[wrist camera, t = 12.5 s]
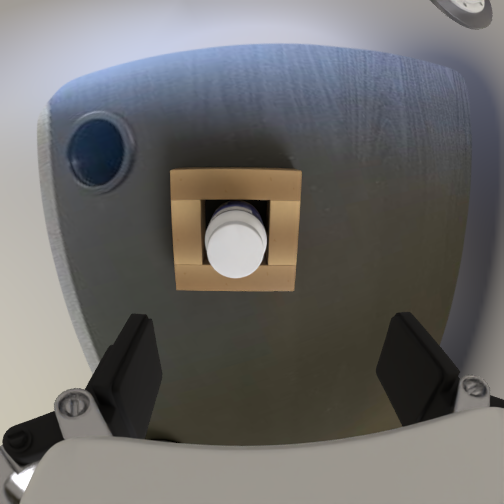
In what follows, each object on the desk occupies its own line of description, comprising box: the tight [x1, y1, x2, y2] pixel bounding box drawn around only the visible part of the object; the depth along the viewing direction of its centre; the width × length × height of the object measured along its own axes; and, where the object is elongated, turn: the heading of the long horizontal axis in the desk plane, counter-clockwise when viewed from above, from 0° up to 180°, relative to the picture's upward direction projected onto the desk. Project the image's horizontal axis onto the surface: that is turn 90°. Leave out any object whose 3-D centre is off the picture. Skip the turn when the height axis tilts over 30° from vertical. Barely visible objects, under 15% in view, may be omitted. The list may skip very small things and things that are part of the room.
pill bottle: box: [205, 200, 267, 278], centre depth 29 cm, size 6×6×10 cm
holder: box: [170, 167, 302, 291], centre depth 32 cm, size 13×13×4 cm
